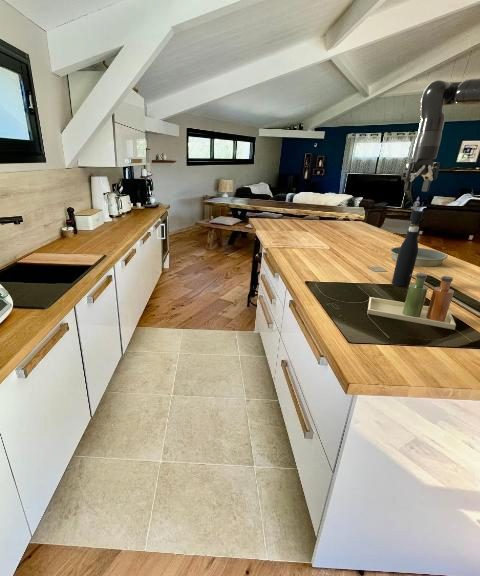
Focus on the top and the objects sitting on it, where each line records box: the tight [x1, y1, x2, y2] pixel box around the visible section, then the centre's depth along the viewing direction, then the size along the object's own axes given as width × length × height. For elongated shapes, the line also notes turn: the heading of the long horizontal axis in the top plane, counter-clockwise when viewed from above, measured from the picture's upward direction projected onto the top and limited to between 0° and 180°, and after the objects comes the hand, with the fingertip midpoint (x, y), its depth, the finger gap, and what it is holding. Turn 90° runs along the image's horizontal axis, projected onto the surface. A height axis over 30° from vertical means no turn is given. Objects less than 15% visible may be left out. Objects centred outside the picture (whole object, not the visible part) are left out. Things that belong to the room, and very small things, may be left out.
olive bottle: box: [402, 272, 429, 317], centre depth 101 cm, size 5×5×14 cm
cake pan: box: [389, 246, 448, 268], centre depth 162 cm, size 25×25×4 cm
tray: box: [366, 296, 457, 330], centre depth 104 cm, size 23×12×2 cm, turn 60°
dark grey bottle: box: [391, 210, 425, 288], centre depth 126 cm, size 6×6×30 cm
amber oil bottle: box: [426, 275, 455, 322], centre depth 98 cm, size 5×5×14 cm
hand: (415, 191), depth 120 cm, fingers open, 8 cm apart
